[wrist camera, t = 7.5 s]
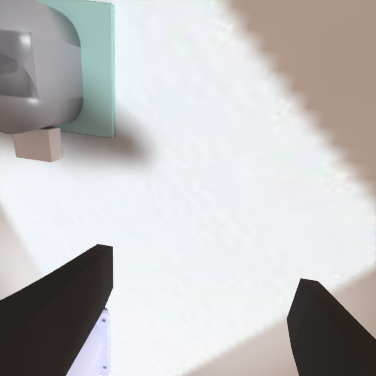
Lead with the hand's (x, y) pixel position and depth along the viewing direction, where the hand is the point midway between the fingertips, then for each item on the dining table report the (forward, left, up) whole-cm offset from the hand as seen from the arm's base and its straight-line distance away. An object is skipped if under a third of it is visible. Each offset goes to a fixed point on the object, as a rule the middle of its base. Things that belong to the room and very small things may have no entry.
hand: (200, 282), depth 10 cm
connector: (+7, +12, -9) cm, 16 cm away
